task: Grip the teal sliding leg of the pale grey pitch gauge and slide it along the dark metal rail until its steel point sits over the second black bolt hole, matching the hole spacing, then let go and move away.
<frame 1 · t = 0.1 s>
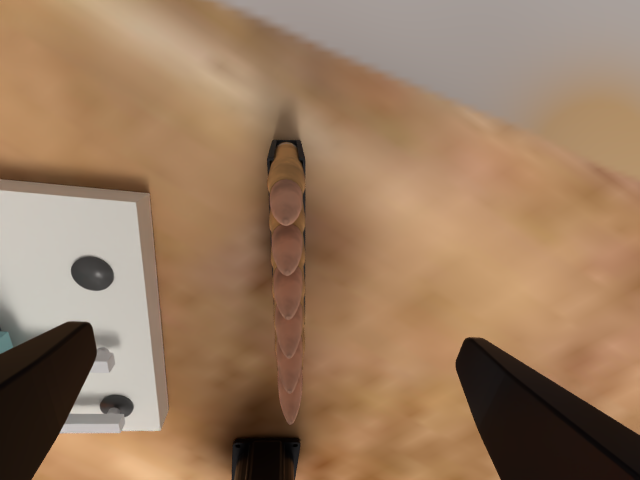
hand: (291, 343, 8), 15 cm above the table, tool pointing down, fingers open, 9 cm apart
pitch plate: (60, 314, 23), on the table
ammunition clip: (288, 218, 22), on the table
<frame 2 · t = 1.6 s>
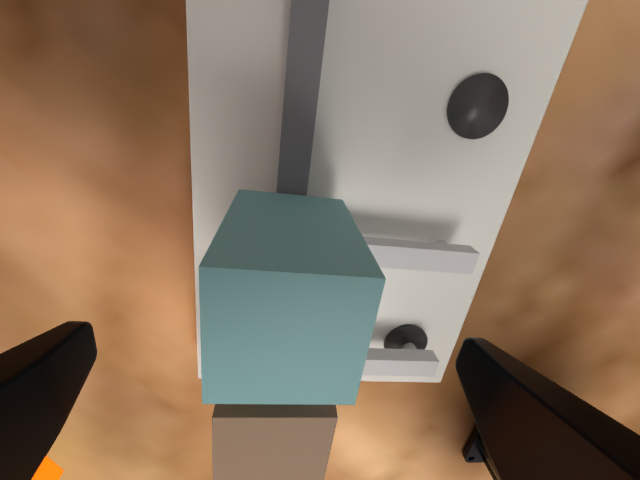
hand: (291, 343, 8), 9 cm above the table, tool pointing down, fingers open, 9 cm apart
sliding leg: (374, 280, 11), point 6 cm above the table, slide at 0.0 cm
pitch plate: (348, 202, 16), on the table
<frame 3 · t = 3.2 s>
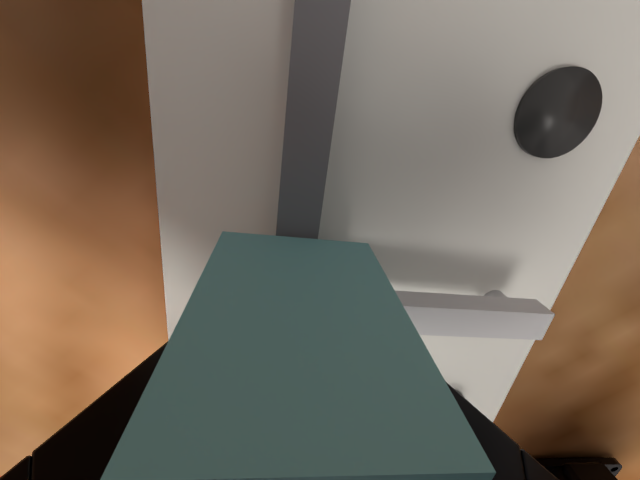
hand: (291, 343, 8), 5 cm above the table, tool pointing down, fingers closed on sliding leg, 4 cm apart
sliding leg: (420, 372, 7), point 6 cm above the table, slide at 0.0 cm, touching gripper
pitch plate: (369, 235, 12), on the table
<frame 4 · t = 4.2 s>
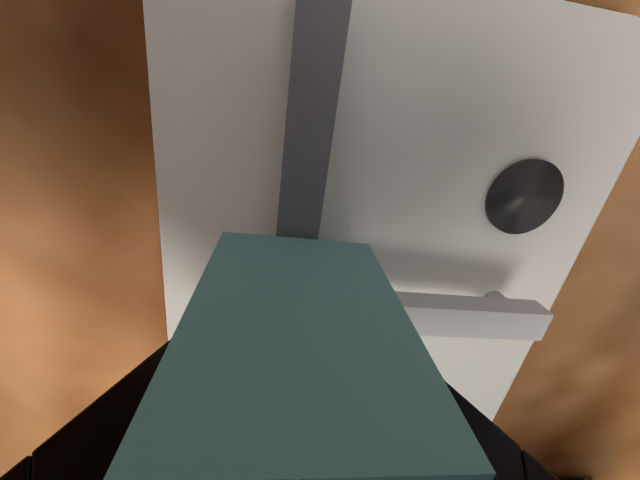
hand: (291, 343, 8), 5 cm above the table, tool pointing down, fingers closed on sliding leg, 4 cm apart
sliding leg: (419, 372, 7), point 6 cm above the table, slide at 2.4 cm, touching gripper
pitch plate: (358, 288, 13), on the table
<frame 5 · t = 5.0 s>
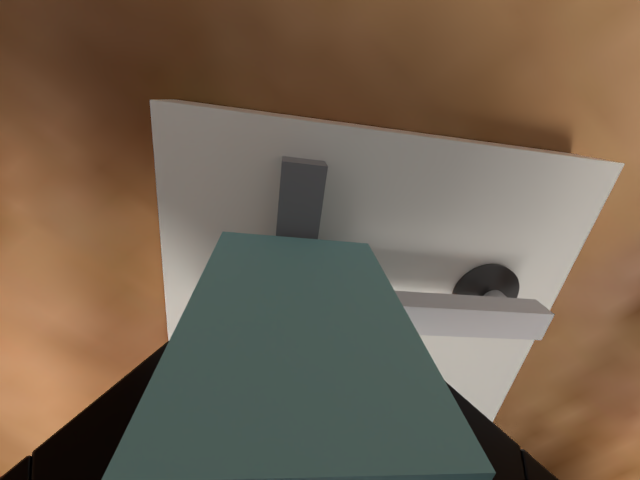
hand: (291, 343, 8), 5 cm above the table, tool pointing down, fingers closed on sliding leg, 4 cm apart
sliding leg: (419, 372, 7), point 6 cm above the table, slide at 6.0 cm, touching gripper
pitch plate: (344, 354, 15), on the table
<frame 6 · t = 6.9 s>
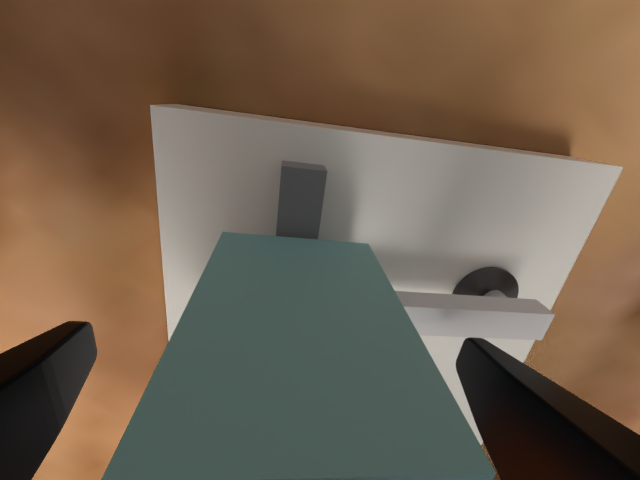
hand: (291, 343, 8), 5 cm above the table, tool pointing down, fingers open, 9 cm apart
sliding leg: (420, 372, 7), point 6 cm above the table, slide at 6.2 cm
pitch plate: (344, 356, 15), on the table
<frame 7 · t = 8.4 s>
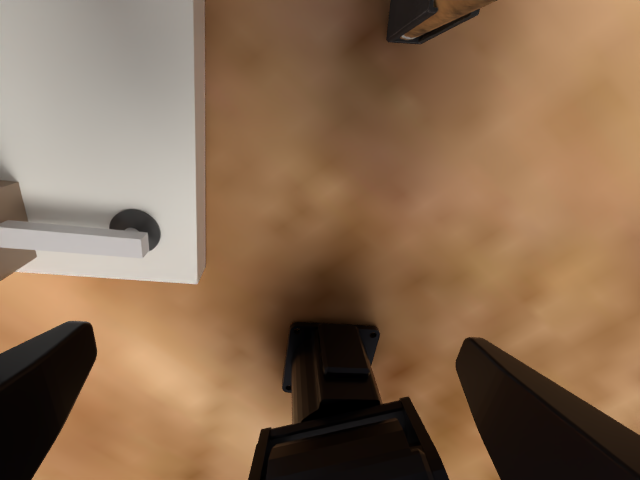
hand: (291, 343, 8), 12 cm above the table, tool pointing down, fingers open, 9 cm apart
pitch plate: (49, 69, 15), on the table
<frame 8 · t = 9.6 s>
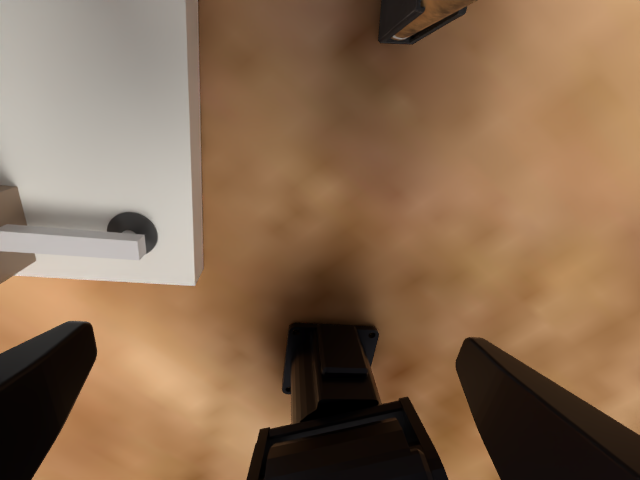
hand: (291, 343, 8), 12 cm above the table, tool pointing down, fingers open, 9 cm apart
pitch plate: (47, 75, 15), on the table
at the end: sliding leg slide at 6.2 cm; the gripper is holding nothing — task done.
